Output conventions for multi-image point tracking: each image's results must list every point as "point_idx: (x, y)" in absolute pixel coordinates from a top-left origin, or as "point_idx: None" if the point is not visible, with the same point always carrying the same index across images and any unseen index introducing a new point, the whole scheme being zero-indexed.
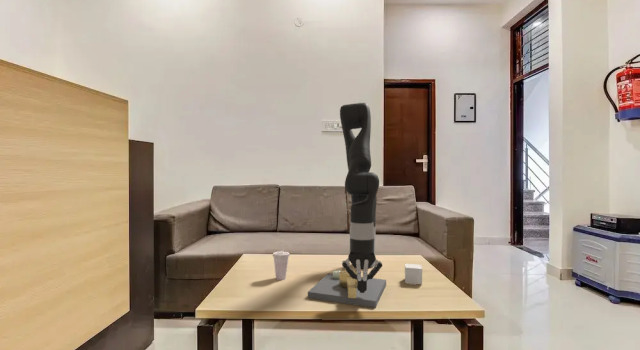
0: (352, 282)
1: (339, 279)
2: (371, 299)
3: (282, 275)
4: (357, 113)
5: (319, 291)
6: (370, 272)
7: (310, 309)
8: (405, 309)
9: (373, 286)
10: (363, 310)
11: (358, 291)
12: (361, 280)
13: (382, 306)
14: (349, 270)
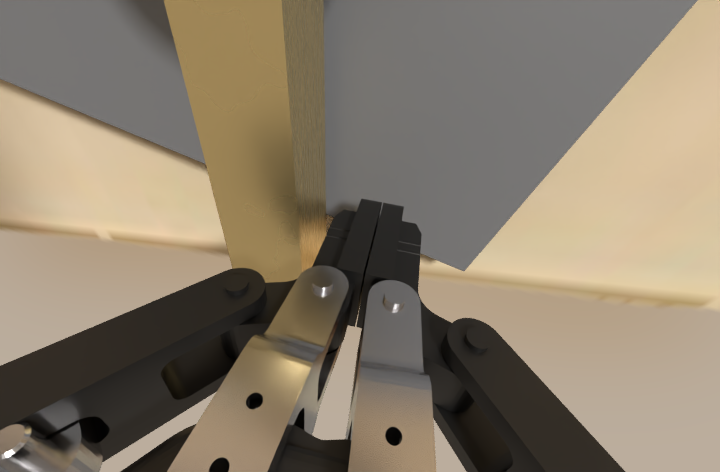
0: (270, 211)
1: None
2: (444, 244)
3: None
4: None
5: (25, 52)
6: (475, 395)
7: (117, 224)
8: (647, 280)
9: None
10: None
11: (378, 57)
12: (351, 308)
13: (517, 228)
14: (155, 411)
